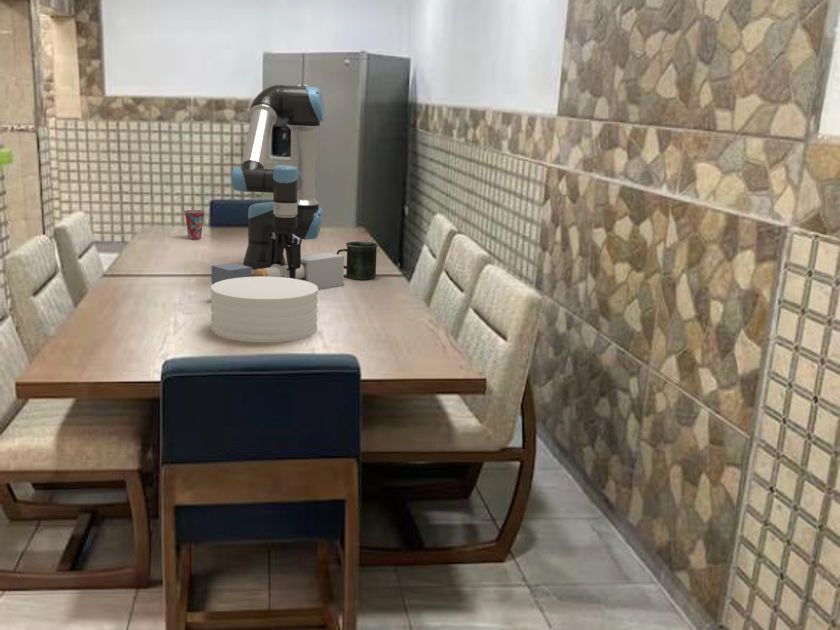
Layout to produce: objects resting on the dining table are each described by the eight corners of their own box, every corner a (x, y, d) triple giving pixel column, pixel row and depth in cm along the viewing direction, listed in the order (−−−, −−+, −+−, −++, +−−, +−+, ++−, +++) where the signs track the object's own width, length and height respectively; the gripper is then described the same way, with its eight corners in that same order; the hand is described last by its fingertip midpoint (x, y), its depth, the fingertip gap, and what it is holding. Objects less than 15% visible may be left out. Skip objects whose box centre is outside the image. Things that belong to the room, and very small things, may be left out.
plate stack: (222, 346, 208) (222, 301, 205) (203, 318, 233) (202, 278, 230) (330, 339, 219) (331, 296, 216) (301, 313, 244) (301, 274, 241)
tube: (326, 274, 287) (326, 255, 285) (339, 277, 283) (340, 258, 281) (251, 285, 263) (251, 265, 261) (264, 289, 259) (264, 268, 257)
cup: (202, 241, 356) (201, 212, 353) (182, 240, 356) (181, 211, 353) (207, 237, 365) (207, 210, 362) (188, 236, 365) (187, 209, 362)
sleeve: (327, 281, 289) (328, 252, 286) (343, 285, 284) (344, 255, 281) (291, 287, 277) (292, 257, 274) (307, 291, 272) (308, 260, 269)
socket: (233, 296, 260) (233, 262, 258) (251, 301, 254) (251, 267, 252) (211, 299, 254) (211, 265, 252) (230, 305, 249) (229, 270, 246)
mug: (376, 281, 293) (377, 247, 290) (334, 279, 292) (335, 245, 289) (377, 275, 303) (378, 242, 300) (336, 273, 303) (337, 240, 300)
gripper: (257, 213, 267) (257, 284, 272) (295, 220, 255) (294, 294, 261) (276, 211, 272) (275, 281, 278) (313, 218, 261) (312, 291, 266)
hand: (284, 287), depth 269 cm, fingers closed on tube, 5 cm apart
